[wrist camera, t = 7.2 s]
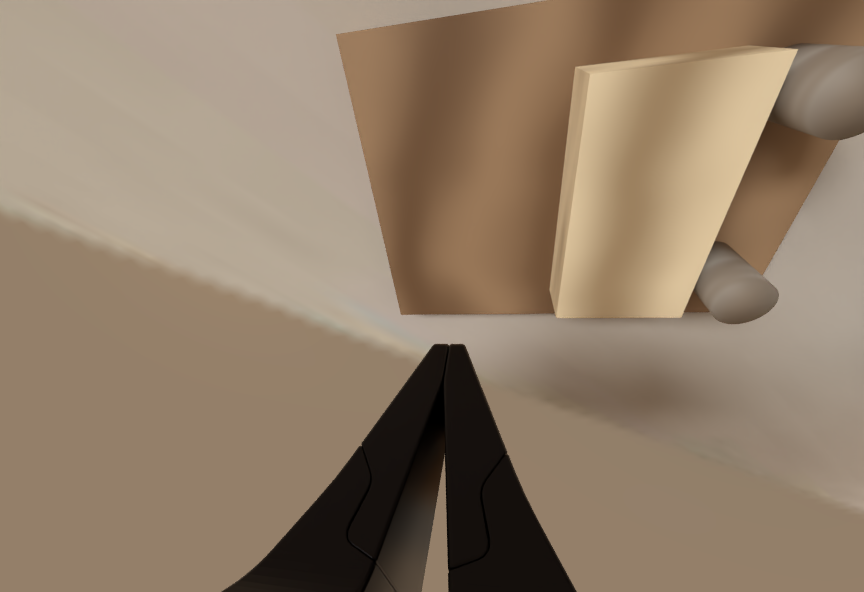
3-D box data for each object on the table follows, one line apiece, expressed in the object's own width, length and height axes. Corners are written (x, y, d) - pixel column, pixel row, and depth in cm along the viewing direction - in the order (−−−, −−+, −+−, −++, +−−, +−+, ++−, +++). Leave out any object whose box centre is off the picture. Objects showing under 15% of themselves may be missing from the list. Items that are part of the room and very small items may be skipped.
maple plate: (749, 45, 12) (797, 49, 10) (661, 287, 19) (681, 317, 17) (575, 67, 13) (590, 73, 11) (549, 289, 20) (556, 317, 18)
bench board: (908, -57, 11) (1124, -99, 8) (727, 295, 20) (783, 358, 17) (347, 33, 15) (298, 36, 11) (405, 300, 24) (389, 353, 20)
